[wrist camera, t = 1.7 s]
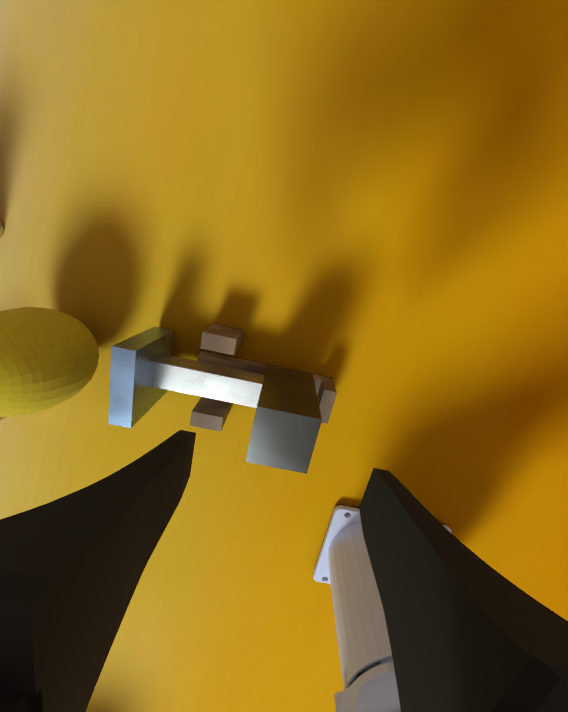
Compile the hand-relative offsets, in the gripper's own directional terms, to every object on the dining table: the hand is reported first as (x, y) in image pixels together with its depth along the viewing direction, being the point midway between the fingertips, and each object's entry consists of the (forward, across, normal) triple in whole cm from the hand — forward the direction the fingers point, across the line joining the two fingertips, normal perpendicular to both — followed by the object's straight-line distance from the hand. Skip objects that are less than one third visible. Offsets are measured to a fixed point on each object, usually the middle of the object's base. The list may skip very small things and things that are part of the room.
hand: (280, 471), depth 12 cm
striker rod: (+9, +4, 0) cm, 10 cm away
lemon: (+9, +14, 0) cm, 17 cm away
